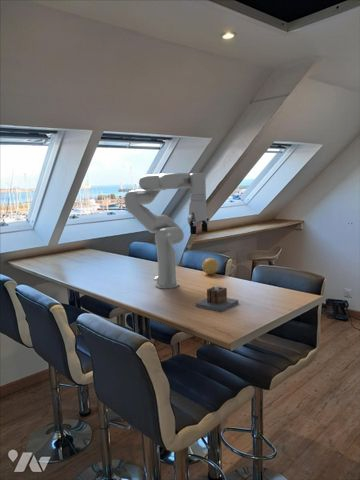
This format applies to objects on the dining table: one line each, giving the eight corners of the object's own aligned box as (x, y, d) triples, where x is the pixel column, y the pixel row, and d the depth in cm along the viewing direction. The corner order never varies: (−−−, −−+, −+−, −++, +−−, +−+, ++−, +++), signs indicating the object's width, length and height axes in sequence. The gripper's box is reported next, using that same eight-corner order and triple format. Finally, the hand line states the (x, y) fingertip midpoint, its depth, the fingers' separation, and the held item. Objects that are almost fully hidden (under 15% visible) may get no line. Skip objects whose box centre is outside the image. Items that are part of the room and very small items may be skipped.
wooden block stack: (207, 302, 166) (206, 289, 165) (214, 298, 171) (214, 286, 170) (219, 304, 162) (219, 291, 161) (226, 300, 167) (226, 288, 166)
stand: (195, 306, 165) (194, 288, 164) (212, 298, 176) (212, 281, 175) (222, 312, 157) (221, 292, 156) (238, 303, 168) (238, 285, 167)
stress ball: (220, 276, 222) (220, 263, 228) (215, 266, 215) (216, 253, 221) (204, 278, 225) (204, 265, 231) (199, 268, 218) (200, 255, 224)
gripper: (201, 197, 190) (202, 230, 192) (181, 199, 176) (182, 234, 179) (214, 197, 185) (214, 231, 188) (194, 199, 172) (195, 235, 174)
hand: (199, 232), depth 183 cm, fingers open, 9 cm apart
